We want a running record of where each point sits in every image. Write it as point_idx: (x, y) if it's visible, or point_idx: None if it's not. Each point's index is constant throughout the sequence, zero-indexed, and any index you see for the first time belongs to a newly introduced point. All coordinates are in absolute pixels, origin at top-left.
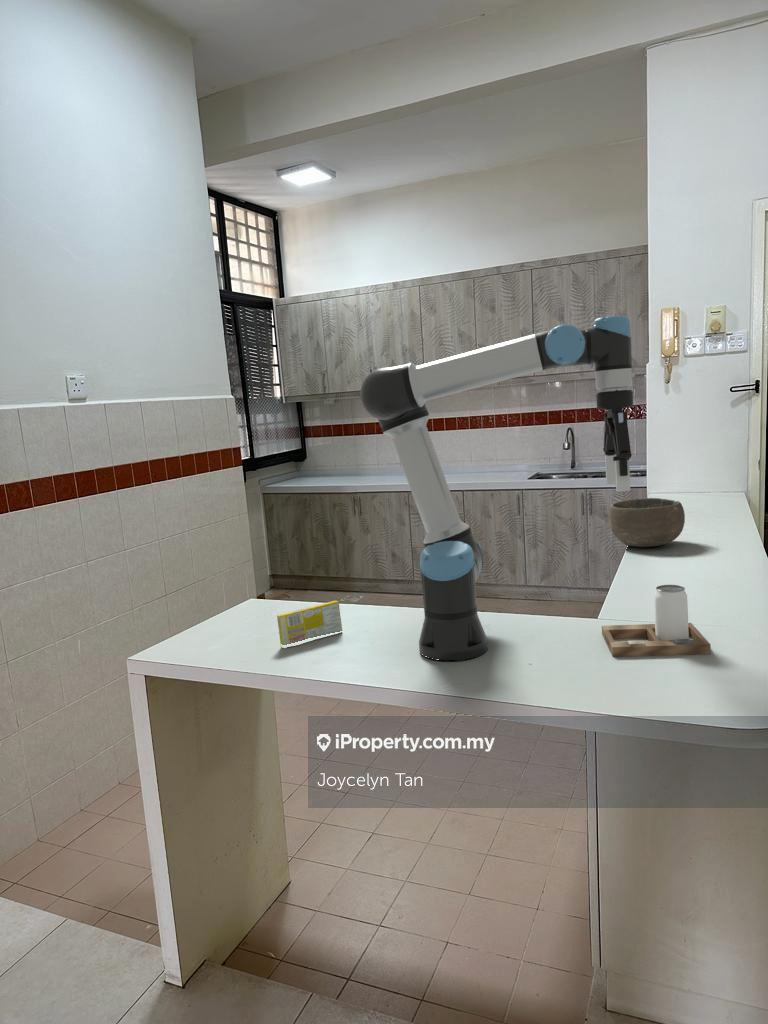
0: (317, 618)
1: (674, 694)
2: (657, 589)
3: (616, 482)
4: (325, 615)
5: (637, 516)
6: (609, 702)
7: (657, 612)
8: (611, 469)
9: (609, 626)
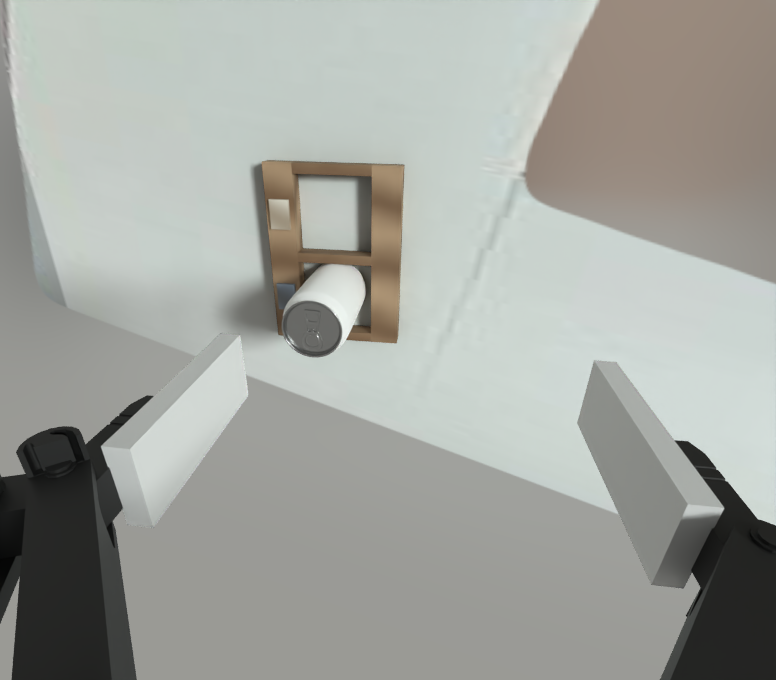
0: None
1: (111, 224)
2: (303, 301)
3: (201, 357)
4: None
5: None
6: (56, 109)
7: (310, 281)
8: (620, 449)
9: (395, 183)
